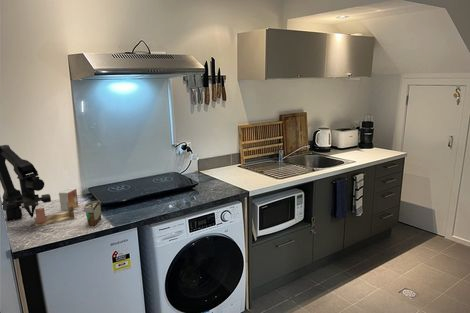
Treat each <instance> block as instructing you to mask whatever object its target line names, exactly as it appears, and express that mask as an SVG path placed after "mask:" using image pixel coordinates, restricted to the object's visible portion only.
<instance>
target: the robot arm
mask: <svg viewBox="0 0 470 313" xmlns="http://www.w3.org/2000/svg"><path fill="white" fill-rule="evenodd" d="M6 161H7V162H8V163H9V164H10V165H11V166H12V167H13V172H14V173H15V174H16V176H17V177H16V179H17V180H18V182H19V186H20V189H16V188H15V185H14V182H13V181H12V176H11V174H10V172H9V170H8V169H9V168H8V166H7V164H6ZM0 184H1V187H2V189H3V194H2V202H1V204H2V205H3V211H5V215H6V222H13V221H17V220H22V217H23V212H22V211H23V210H22V209H25V211H27V214H28V215H29V216H30V218H33V217H34V213H35V209H36V207H37V206H39V202H42V203H44V204H45V203H51V202H52V199H51V195H50V193H47V194H41V196H39V194H36V192H39V191H42V190H43V189H44V188H45V181H44V180H43V179H41V178H40V176H39V173H38V170H37V169H36V168H35V166H34V165H33V163H32V162H30V161H29V160H27V159H23V158H21V157H20V156H19V155H18V154H17V153H16V152H15V151H14V150H12V149H11V146H10V145H9V144H3V145H0ZM30 207H31V208H30Z"/></svg>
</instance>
